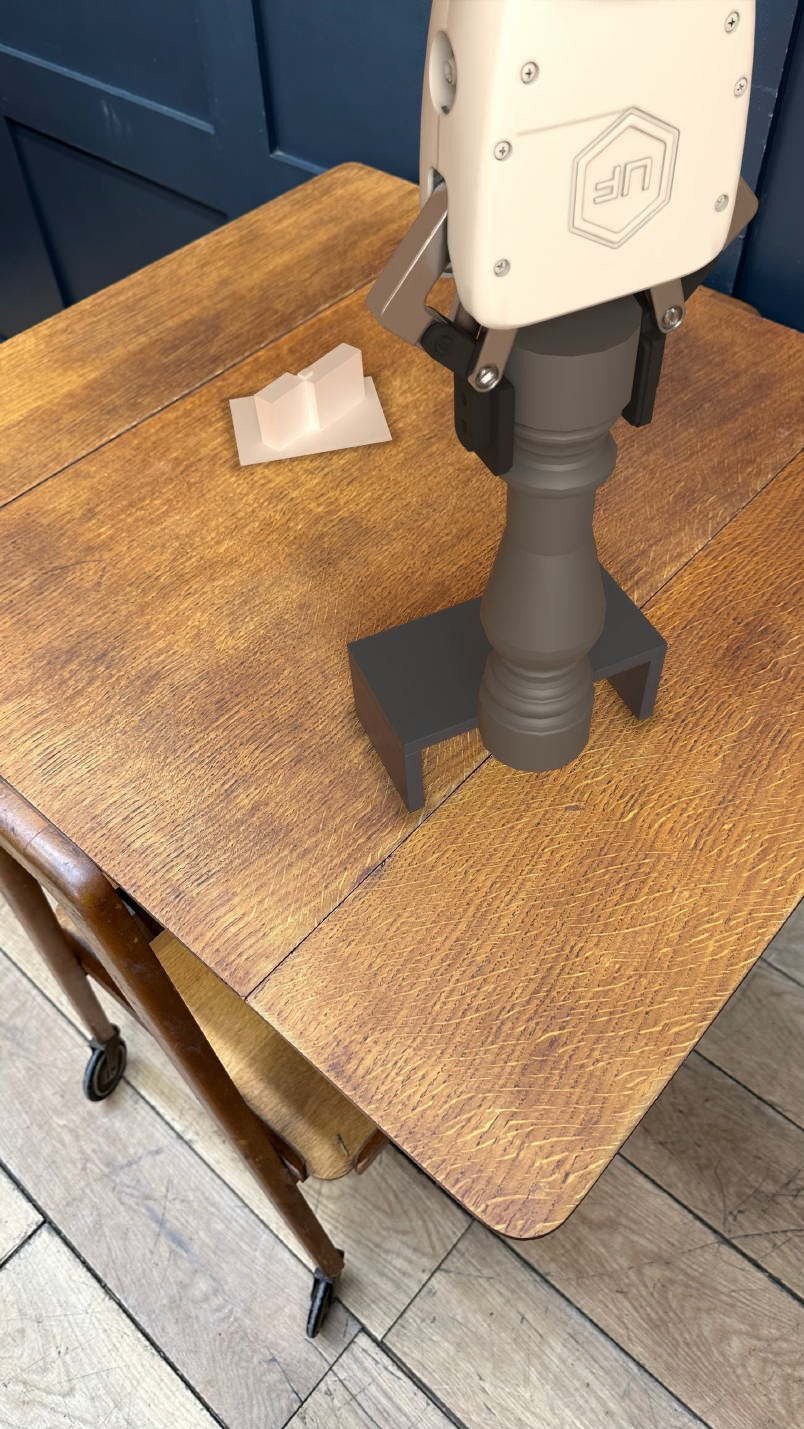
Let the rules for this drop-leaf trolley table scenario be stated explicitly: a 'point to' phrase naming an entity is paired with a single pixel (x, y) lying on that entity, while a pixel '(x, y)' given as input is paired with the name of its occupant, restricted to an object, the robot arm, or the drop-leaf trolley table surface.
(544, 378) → the candle holder
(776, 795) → the drop-leaf trolley table surface
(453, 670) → the shelf
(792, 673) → the drop-leaf trolley table surface
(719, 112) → the robot arm
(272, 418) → the napkin holder
